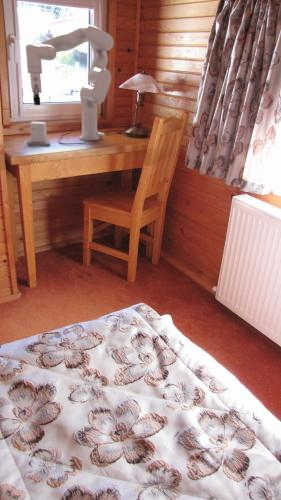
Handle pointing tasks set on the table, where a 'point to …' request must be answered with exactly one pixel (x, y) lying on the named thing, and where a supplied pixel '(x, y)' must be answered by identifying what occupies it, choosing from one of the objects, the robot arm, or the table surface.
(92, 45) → the robot arm
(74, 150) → the table surface
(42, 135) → the small box
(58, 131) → the table surface
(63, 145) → the table surface
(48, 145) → the grey board
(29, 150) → the table surface
